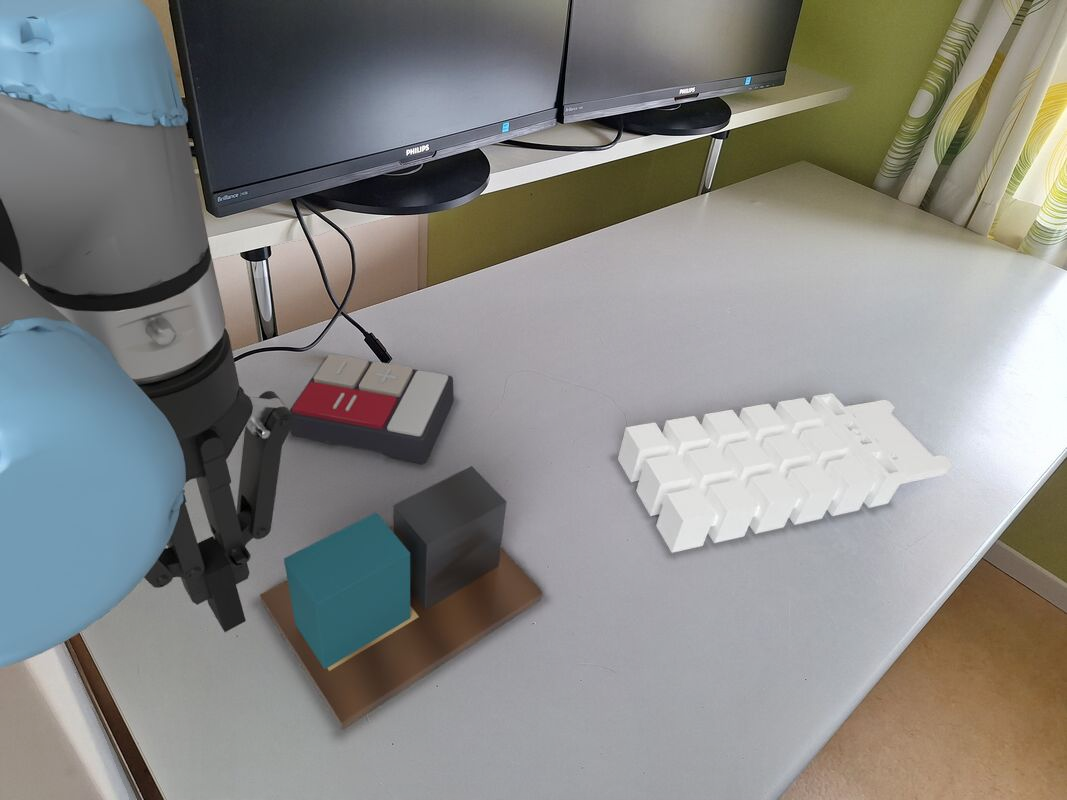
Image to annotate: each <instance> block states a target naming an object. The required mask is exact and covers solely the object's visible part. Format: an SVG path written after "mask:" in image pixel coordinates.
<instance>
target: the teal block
mask: <svg viewBox="0 0 1067 800" xmlns="http://www.w3.org/2000/svg"><path fill="white" fill-rule="evenodd" d="M283 562H284V567H285V568H284V569H285V574H286V579H287V580H288V585H289V591H290V597H291V602H292V608H293V614H294V619H295V625H296V627H297V628H298V630H299V631H300V633H301V634H302V636H303V637H304V639H305V640H306V642H307V643H308V645H309V646H310V648H311V650H312V651H313V653H314V654H315V656H316V657H317V659H318V660H319V662H320V663H321V665H322V666H323V668H324V669H327V668H328V667H330V666H332V665H333V664H335V663H337V662H338V661H340V660H342V659H343V658H345V657H347V656H348V655H350V654H352V653H353V652H355V651H357V650H358V649H360V648H362V647H363V646H365V645H367V644H368V643H370V642H372V641H373V640H375V639H377V638H378V637H380V636H382V635H383V634H385V633H387V632H388V631H390V630H392V629H393V628H395V627H397V626H398V625H400V624H402V623H403V622H405V621H406V620H408V619H410V552H409V551H408V550H407V548H406V547H405V546H404V545H403V544H402V542H401V541H400V540H399V539H398V537H397V536H396V535H395V534H394V533H393V531H392V530H391V529H390V526H389V525H388V524H387V522H385V520H384V519H383V518H382V517H381V516H380V515H379V513H378V511H377V512H374V513H372V514H370V515H368V516H366V517H364V518H361V519H360V520H358V521H356V522H354V523H352V524H350V525H348V526H346V527H344V528H342V529H339V530H338V531H336V532H334V533H331V534H329V535H328V536H325V537H324V538H322V539H320V540H318V541H316V542H314V543H312V544H310V545H308V546H306V547H304V548H302V549H300V550H298V551H296V552H294V553H292V554H290V555H287V556H286V557H284V558H283ZM287 580H286V581H287Z"/></svg>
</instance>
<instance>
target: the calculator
mask: <svg viewBox="0 0 1067 800" xmlns="http://www.w3.org/2000/svg"><path fill="white" fill-rule="evenodd" d="M453 403H454V377H453V376H452V375H448V374H443V373H437V372H431V371H426V370H419V369H413V368H412V367H410V366H405V365H399V364H393V363H387V362H381V361H369V360H368V359H363V358H358V357H352V356H346V355H342V354H335V353H329V355H327V356H325V358H324V360H323V361H322V363H321V364H320V365H319V367H318V369H317V370H316V371H315V372H314V374H313V376H312V377H311V379H310V380H309V381H308V383H307V384H306V385H305V387H304V388H303V390H302V392H301V393H300V394H299V396H298V397H297V398H296V400H295V401H294V402H293V404H292V406H291V407H290V408H289V411H290V412H291V413H292V414H293V416H294V417H295V421H294V424H293V426H292V428H291V430H290V434H291V435H292V436H294V437H298V438H304V439H308V440H314V441H320V442H325V443H331V444H334V445H335V444H336V445H341V446H346V447H352V448H357V449H362V450H367V451H372V452H377V453H383V455H386V456H387V457H389V458H391V459H394V460H399V461H404V462H410V463H415V464H420V465H423V464H425V463H426V462H427V461H428V459H429V456H430V454H431V453H432V450H433V448H434V446H435V443H436V441H437V439H438V436H439V435H440V433H441V430H442V428H443V425H444V423H445V421H446V419H447V417H448V414H449V412H450V409H451V407H452V405H453Z"/></svg>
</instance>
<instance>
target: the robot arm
mask: <svg viewBox="0 0 1067 800" xmlns="http://www.w3.org/2000/svg"><path fill="white" fill-rule="evenodd" d="M164 37H165V36H164V34H163V30H162V27H161V25H160V23H159V21H158V18H157V17H156V16H155V14H154V12H153V11H152V9H151V8H150V7H149V6H148V5H147V4H146V3H145V2H143V0H0V669H3V668H6V667H8V666H12V665H15V664H19V663H22V662H25V661H27V660H29V659H31V658H34V657H36V656H38V655H41V654H43V653H45V652H48V651H49V650H52V649H54V648H55V647H57V646H59V645H61V644H63V643H65V642H67V641H68V640H69V639H72V638H73V637H75V636H76V635H78V634H80V633H81V632H83V631H84V630H87V628H89V627H90V626H92V625H94V624H95V623H96V622H97V621H99V620H100V619H102V618H103V617H104V616H105V615H107V614H108V613H109V612H111V610H113V609H114V608H116V607H117V605H119V604H120V603H121V602H122V601H123V600H124V599H125V598H127V596H128V595H130V593H132V591H134V589H136V587H137V586H138V585H139V584H140V583H141V581H143V579H145V580H146V581H147V582H148V584H150V585H151V586H152V587H153V588H156V589H157V588H163V587H165V586H168V585H169V584H170V583H171V582H172V581H173V580H174V578H180V579H181V582H182V585H183V588H184V590H185V591H186V593H187V595H188V596H189V598H190V600H191V602H192V603H193V604H195V605H196V606H198V605H201V604H202V603H204V602H206V601H207V604H208V606H209V608H210V610H211V611H212V613H213V615H214V617H215V618H216V620H217V622H218V623H219V626H220V627H221V629H222V630H223V632H224V633H227V632H228V631H230V630H232V629H234V628H236V627H238V626H239V625H242V624H243V623H245V622H247V619H246V616H245V613H244V609H243V605H242V602H241V597H240V595H239V594H240V593H239V590H238V587H237V585H238V584H240V583H243V582H244V581H246V580H248V579H249V576H250V574H251V573H250V567H249V564H248V563H249V561H250V559H251V556H252V555H251V554H250V552H249V550H248V549H247V547H246V546H247V545H248V543H249V542H251V541H252V540H253V539H254V540H262V539H264V538H265V537H267V536H268V535H269V534H270V532H271V530H272V524H273V517H274V516H273V515H274V508H275V502H276V501H275V500H276V496H277V494H276V493H277V486H278V479H279V472H280V465H281V456H282V451H283V450H282V449H283V445H284V443H285V441H286V439H287V437H288V436H289V433H291V431H290V430H291V428H292V426H293V424H294V421H295V417H294V416H293V414H292V413H291V412H290V411H289V410H290V408H288V407H287V406H286V404H285V403H284V401H282V399H280V397H279V396H278V395H277V393H276V392H275V391H273V390H267V391H264V392H263V393H261V394H260V395H259V396H258V397H255V396H248V394H246V393H245V391H244V388H243V387H242V386H241V385H240V382H239V381H240V380H239V377H238V371H237V367H236V363H235V358H234V353H233V349H232V344H231V343H232V342H231V338H230V334H229V332H228V330H227V328H226V317H225V316H226V315H225V312H224V311H225V310H224V306H223V302H222V298H221V292H220V289H219V284H218V278H217V275H216V274H217V273H216V270H215V265H214V260H213V257H212V253H211V246H210V243H209V235H208V231H207V227H206V226H207V225H206V221H205V217H204V211H203V207H202V202H201V196H200V191H199V186H198V181H197V176H196V170H195V165H194V159H193V155H192V150H191V146H190V140H189V133H188V129H187V128H188V127H187V123H188V121H189V116H188V115H189V114H188V110H187V108H186V107H185V105H184V103H183V99H182V95H181V92H180V89H179V84H178V81H177V77H176V74H175V73H176V72H175V70H174V66H173V62H172V57H171V54H170V51H169V50H168V47H167V44H166V41H165V38H164ZM23 275H24V278H25V279H26V281H27V283H26V282H25V281H24V280H23V279H22V278H20V277H21V276H23ZM243 431H244V433H243ZM242 433H243V442H242V451H241V453H242V454H241V463H240V473H239V480H238V481H239V483H238V492H237V503H236V504H235V500H234V496H233V492H232V487H231V483H232V477H231V474H230V470H229V466H228V461H227V459H228V458H229V457H230V455H231V453H232V451H233V450H234V448H235V446H236V444H237V443H238V440H239V438H240V437H241V435H242ZM191 480H196V484H197V487H198V491H199V494H200V498H201V501H202V505H203V508H204V511H205V515H206V518H207V522H208V525H209V529H210V532H211V533H212V535H211V536H210V537H207V538H205V539H203V540H201V541H199V542H198V540H197V537H196V534H195V530H194V528H193V524H192V521H191V518H190V515H189V510H188V507H187V499H186V495H185V485H186V483H188V482H189V481H191Z"/></svg>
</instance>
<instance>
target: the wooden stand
mask: <svg viewBox="0 0 1067 800" xmlns="http://www.w3.org/2000/svg"><path fill="white" fill-rule="evenodd" d="M506 508H507V500H506V499H505V498H504V497H503V496H502V495H501V494H500V493H499V492H498V491H497V490H496V489H495V488H494V487H493V486H492V484H490V483H489V482H488V480H486V479H485V478H484V477H483V476H482V475H481V474H480V473H479V472H478V471H477V470H476V469H475V468H474V467H473V466H472V465H471V466H469V467H467V468H465V469H462V470H460V471H458V472H457V473H455V474H452V475H451V476H448V477H447V478H445V479H442V480H440V481H438V482H437V483H435V484H433V485H430V486H429V487H427V488H424V489H422V490H420V491H419V492H417V493H415V494H412V495H411V496H408V497H407V498H404V499H403V500H401V501H399V502H397V503H395V504H393V505H392V513H393V514H392V516H393V525H392V526H389V528H390V529H391V530H392V531H393V533H394V534H395V535H396V536H397V537H398V539H399V540H400V541H401V542H402V544H403V545H404V546H405V547H406V548H407V550H408V551H409V552H410V619H408V620H406V621H405V622H403V623H402V624H400V625H398V626H397V627H395V628H393V629H392V630H390V631H388V632H387V633H385V634H383V635H382V636H380V637H378V638H377V639H375V640H373V641H372V642H370V643H368V644H367V645H365V646H363V647H362V648H360V649H358V650H357V651H355V652H353V653H352V654H350V655H348V656H347V657H345V658H343V659H342V660H340V661H338V662H337V663H335V664H333V665H332V666H330V667H328V668H327V669H324V668H323V666H322V665H321V663H320V662H319V660H318V659H317V657H316V656H315V654H314V653H313V651H312V650H311V648H310V646H309V645H308V643H307V642H306V640H305V639H304V637H303V636H302V634H301V633H300V631H299V630H298V628H297V627H296V625H295V619H294V614H293V608H292V602H291V597H290V591H289V585H288V580H285V581H284V582H281V583H279V584H278V585H276V586H274V587H272V588H270V589H267V590H266V591H264V592H262V593H260V594H259V597H260V601H261V604H262V606H263V607H264V609H265V611H266V612H267V614H268V615H269V617H270V619H271V620H272V621H273V623H274V625H275V626H276V628H277V629H278V632H280V634H281V636H282V638H283V639H284V640H285V642H286V644H287V645H288V647H289V648H290V650H291V651H292V653H293V654H294V656H295V658H296V659H297V661H298V662H299V665H301V668H302V669H303V670H304V672H305V674H306V675H307V677H308V678H309V679H310V682H311V684H312V685H313V687H314V688H315V690H316V691H317V692H318V694H319V696H320V698H322V700H323V702H324V703H325V705H326V707H327V709H328V710H329V712H330V713H331V715H332V716H333V718H334V719H335V721H336V722H337V724H338V726H339V728H340V729H341V730H342V731H344V730H345V729H347V728H348V727H350V726H352V725H353V724H354V723H356V722H358V721H359V720H361V719H362V718H363V717H365V716H367V715H368V714H370V713H371V712H373V711H375V710H376V709H377V708H380V707H381V706H382V705H383V704H385V703H386V702H388V701H389V700H391V699H392V698H394V697H396V696H397V695H399V694H401V692H403V691H405V690H407V689H408V688H409V687H411V686H412V685H414V684H415V683H417V682H418V681H420V680H421V679H423V678H425V677H426V676H428V675H429V674H430V673H432V672H434V671H435V670H437V669H438V668H439V667H441V666H443V665H445V664H446V663H448V662H449V661H451V660H452V659H454V658H455V657H457V656H458V655H459V654H461V653H463V652H464V651H466V650H467V649H469V648H470V647H472V646H473V645H475V644H476V643H478V642H480V641H481V640H482V639H484V638H485V637H488V635H490V634H491V633H493V632H495V631H496V630H499V628H501V627H502V626H504V625H506V624H508V623H509V622H510V621H512V620H513V619H514V618H517V617H518V616H519V615H521V614H523V613H524V612H525V611H527V610H528V609H530V608H531V607H532V606H534V605H535V604H537V603H539V602H540V601H542V598H543V591H542V590H541V589H540V588H539V586H537V585H536V584H535V582H533V580H532V579H531V578H530V577H529V576H528V575H527V574H526V573H525V572H524V570H522V568H520V566H519V565H518V564H517V563H516V562H515V561H514V560H513V559H512V558H511V557H510V555H509V554H508V553H507V552H506V551H505V550H504V549H503V548H502V541H503V534H504V524H505V517H506Z"/></svg>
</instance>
